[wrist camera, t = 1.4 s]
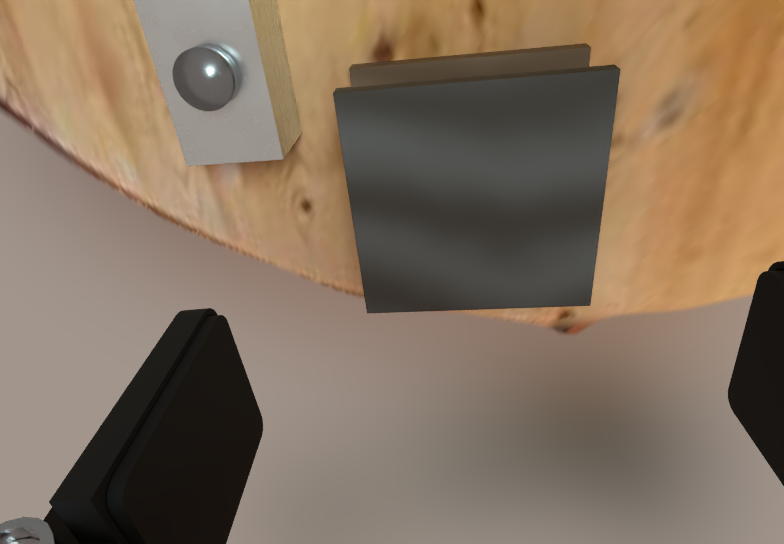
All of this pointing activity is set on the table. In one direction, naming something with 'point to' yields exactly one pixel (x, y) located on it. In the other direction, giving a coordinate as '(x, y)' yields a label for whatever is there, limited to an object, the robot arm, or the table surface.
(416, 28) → the table surface
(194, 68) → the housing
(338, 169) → the table surface
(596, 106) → the stand
